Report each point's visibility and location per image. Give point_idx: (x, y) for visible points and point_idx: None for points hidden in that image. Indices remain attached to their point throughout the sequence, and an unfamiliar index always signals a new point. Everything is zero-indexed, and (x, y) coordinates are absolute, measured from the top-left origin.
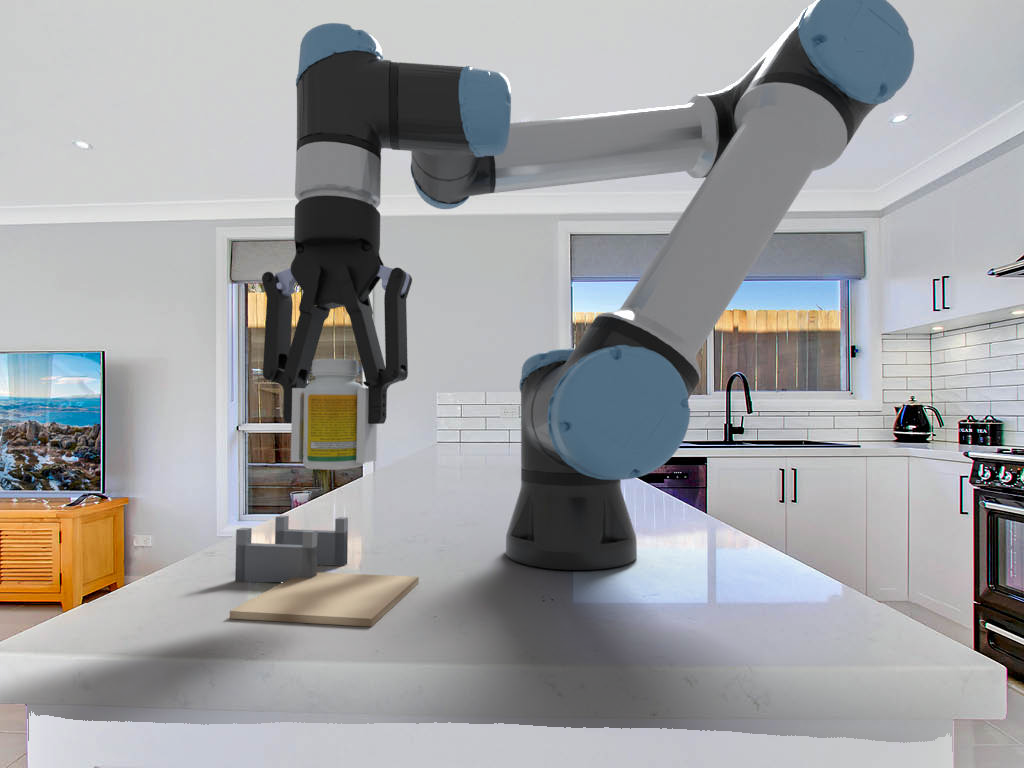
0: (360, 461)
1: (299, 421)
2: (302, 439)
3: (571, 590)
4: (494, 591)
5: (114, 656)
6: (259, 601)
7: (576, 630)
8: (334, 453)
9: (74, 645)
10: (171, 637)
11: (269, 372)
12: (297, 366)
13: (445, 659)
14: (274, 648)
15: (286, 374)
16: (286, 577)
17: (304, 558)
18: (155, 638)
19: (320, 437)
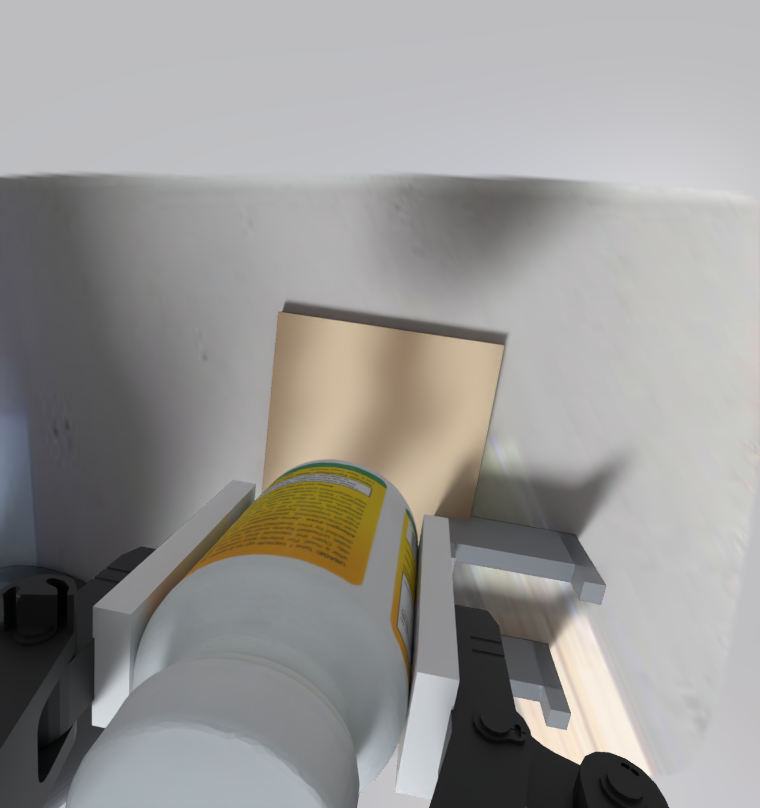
0: (243, 483)
1: (421, 578)
2: (419, 563)
3: (32, 471)
4: (141, 469)
5: (601, 191)
6: (475, 390)
7: (14, 302)
8: (299, 471)
9: (686, 230)
10: (555, 265)
11: (617, 782)
12: (437, 789)
13: (159, 197)
14: (389, 227)
15: (507, 762)
16: (480, 522)
17: (449, 532)
18: (577, 261)
19: (330, 488)
